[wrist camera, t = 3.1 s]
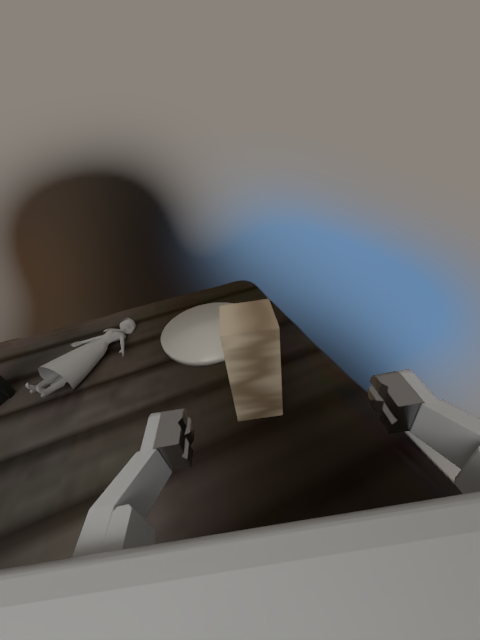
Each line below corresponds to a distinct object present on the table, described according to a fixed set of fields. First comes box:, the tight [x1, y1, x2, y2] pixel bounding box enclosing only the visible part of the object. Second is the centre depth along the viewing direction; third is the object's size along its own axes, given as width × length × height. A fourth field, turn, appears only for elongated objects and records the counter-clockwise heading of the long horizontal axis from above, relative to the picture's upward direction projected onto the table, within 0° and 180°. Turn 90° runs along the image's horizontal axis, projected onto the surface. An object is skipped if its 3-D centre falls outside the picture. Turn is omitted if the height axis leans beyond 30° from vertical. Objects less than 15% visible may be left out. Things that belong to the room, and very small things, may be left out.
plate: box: [161, 302, 233, 366], centre depth 41 cm, size 16×16×1 cm
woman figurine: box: [25, 318, 136, 397], centre depth 39 cm, size 12×4×18 cm
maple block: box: [219, 299, 283, 421], centre depth 26 cm, size 5×5×12 cm
